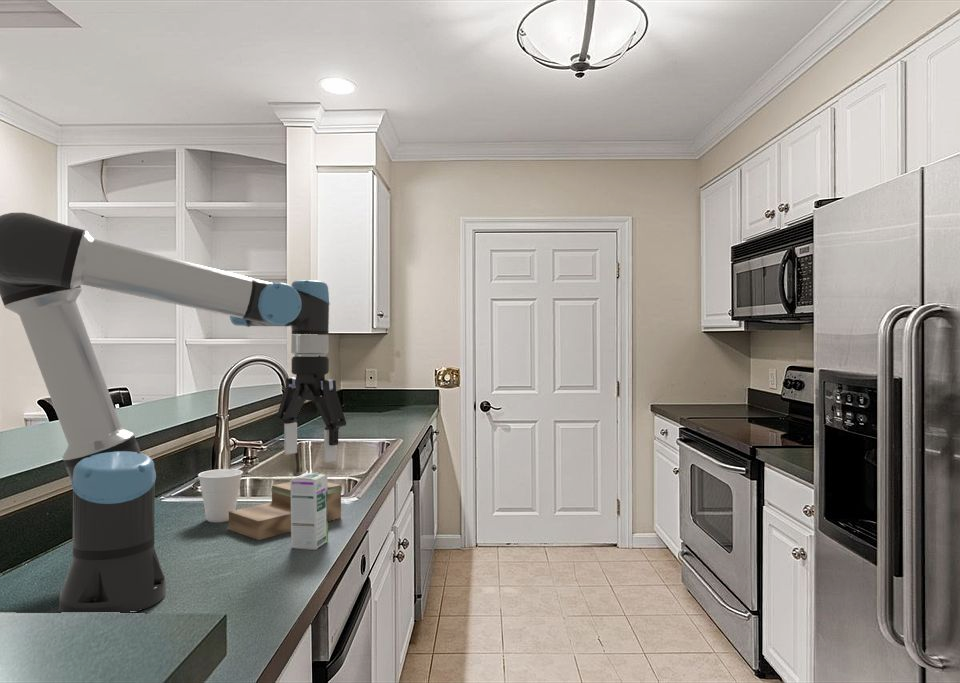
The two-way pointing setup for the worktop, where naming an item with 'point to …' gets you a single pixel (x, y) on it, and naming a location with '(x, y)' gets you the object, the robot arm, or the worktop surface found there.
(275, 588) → the worktop surface
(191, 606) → the worktop surface
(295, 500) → the syrup box
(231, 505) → the cup
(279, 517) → the step stand
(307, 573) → the worktop surface
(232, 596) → the worktop surface
